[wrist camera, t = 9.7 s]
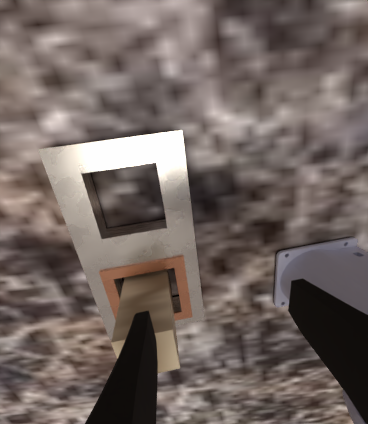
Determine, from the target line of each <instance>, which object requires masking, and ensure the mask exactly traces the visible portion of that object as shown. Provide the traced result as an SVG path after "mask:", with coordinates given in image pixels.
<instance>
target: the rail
mask: <svg viewBox="0 0 368 424" xmlns="http://www.w3.org/2000/svg"><path fill="white" fill-rule="evenodd" d="M38 151H39V153H40V156H41V159H42V161H43V164H44V167H45V169H46V172H47V175H48V177H49V180H50V182H51V185H52V188H53V190H54V193H55V196H56V198H57V201H58V204H59V206H60V209H61V212H62V214H63V217H64V220H65V222H66V225H67V227H68V230H69V233H70V235H71V238H72V241H73V243H74V246H75V249H76V251H77V254H78V257H79V259H80V262H81V264H82V267H83V270H84V272H85V275H86V278H87V280H88V283H89V286H90V288H91V291H92V294H93V296H94V299H95V301H96V304H97V307H98V309H99V312H100V315H101V317H102V320H103V323H104V325H105V328H106V331H107V333H108V336H109V338H110V340H112V336H113V332H114V327H115V322H116V317H117V312H118V307H119V302H120V297H121V292H122V287H123V281H122V278H123V277H128V276H134V275H139V274H144V273H150V272H155V271H160V270H165V269H171V268H174V269H175V275H176V281H177V286H178V292H179V296H177V297H172V300H173V309H174V318H175V326H179V325H184V324H188V323H193V322H198V321H202V320H205V318H204V309H203V301H202V293H201V284H200V276H199V267H198V259H197V250H196V242H195V233H194V225H193V216H192V208H191V199H190V191H189V182H188V174H187V165H186V157H185V148H184V140H183V131H182V130H178V131H171V132H163V133H156V134H149V135H141V136H134V137H126V138H119V139H111V140H104V141H96V142H89V143H81V144H74V145H67V146H59V147H52V148H45V149H38ZM150 163H156V164H157V170H158V176H159V182H160V188H161V193H162V199H163V205H164V211H165V217H166V219H162V220H156V221H150V222H144V223H138V224H132V225H126V226H120V227H115V228H109V229H107V228H106V224H105V221H104V218H103V214H102V211H101V207H100V204H99V201H98V197H97V194H96V191H95V187H94V184H93V181H92V177H91V174H90V172H95V171H102V170H109V169H116V168H123V167H129V166H136V165H143V164H150Z"/></svg>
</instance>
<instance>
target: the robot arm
mask: <svg viewBox="0 0 368 424" xmlns="http://www.w3.org/2000/svg"><path fill="white" fill-rule="evenodd" d="M357 243H358V240H357V239H356V238H354V237H350V238H345V239H340V240H335V241H329V242H324V243H319V244H314V245H308V246H303V247H298V248H293V249H287V250H282V251H279V252H278V253H277V255H276V272H275V290H274V305H275V306H276V307H283V306H287V305H289V309H288V311H289V313H290V315H291V316H292V318H293V320H294V322H295V323H296V325H297V326H298V328H299V330H300V331H301V333H302V334H303V336H304V337H305V338H306V340H307V341H308V342H309V344H310V345H311V346H312V348H313V349H314V350H315V352H316V353H317V354H318V356H319V357H320V358H321V360H322V361H323V362H324V364H325V365H326V366H327V368H328V369H329V370H330V372H331V373H332V374H333V376H334V377H335V378H336V380H337V381H338V382H339V384H340V385H341V387H342V388H343V397H344V400H345V404H346V406H347V409H348V412H349V414H350V417H351V419H352V421H353V423H354V424H368V252H366V251H364V250H363V249H361V248H359V247H357ZM285 254H286V255H285ZM157 375H158V359H157V342H156V336H155V333H154V329H153V325H152V321H151V317H150V313H149V311H144V312H139V313H136V314H135V315H134V318H133V321H132V324H131V327H130V329H129V332H128V335H127V337H126V340H125V342H124V345H123V347H122V350H121V352H120V354H119V357H118V359H117V361H116V364H115V366H114V368H113V370H112V372H111V374H110V376H109V378H108V380H107V383H106V385H105V387H104V389H103V391H102V393H101V395H100V397H99V399H98V401H97V403H96V404H95V406H94V408H93V410H92V412H91V414H90V415H89V417H88V419H87V421H86V423H85V424H156V405H157Z"/></svg>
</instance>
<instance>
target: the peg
mask: <svg viewBox="0 0 368 424" xmlns="http://www.w3.org/2000/svg"><path fill="white" fill-rule="evenodd" d="M144 311H149V313H150V317H151V321H152V325H153V329H154V333H155V336H156V342H157V359H158V373H161V372H165V371H169V370H174V369H178V368H180V363H179V354H178V345H177V336H176V327H175V318H174V309H173V300H172V291H171V285H170V280H169V274H168V269H165V270H160V271H155V272H150V273H144V274H139V275H134V276H128V277H124V282H123V287H122V292H121V297H120V302H119V307H118V312H117V317H116V322H115V327H114V332H113V336H112V341H111V343H112V346H113V349H114V351H115V354H116V357H117V359H118V357H119V354H120V352H121V350H122V347H123V345H124V342H125V340H126V337H127V335H128V332H129V329H130V327H131V324H132V321H133V318H134V315H135V314H136V313H139V312H144Z"/></svg>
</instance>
